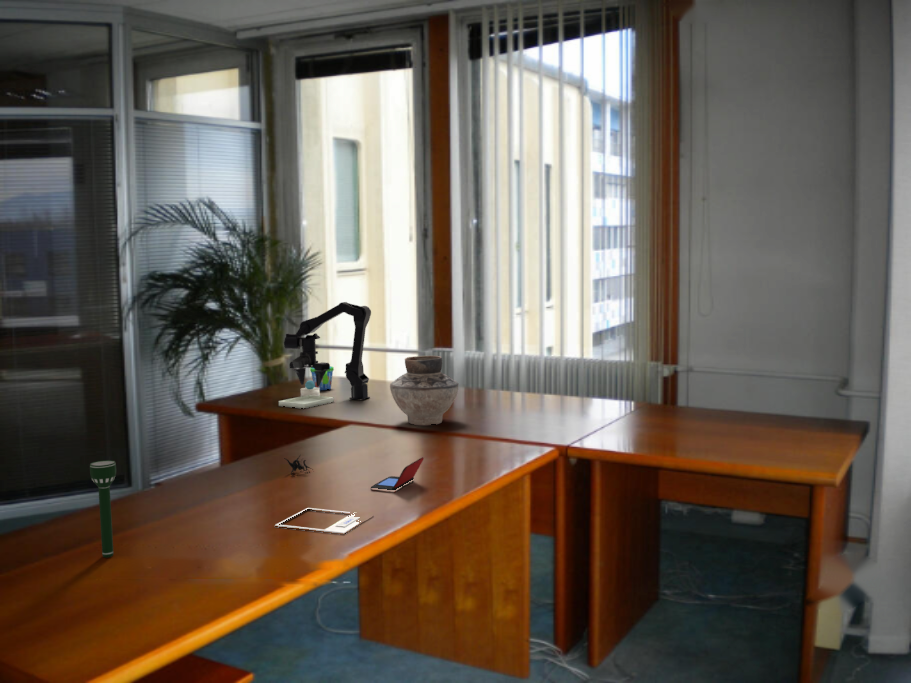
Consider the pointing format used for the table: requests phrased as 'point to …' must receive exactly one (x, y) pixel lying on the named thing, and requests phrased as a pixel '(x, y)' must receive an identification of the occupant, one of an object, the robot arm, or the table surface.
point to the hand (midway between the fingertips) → (310, 385)
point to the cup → (310, 391)
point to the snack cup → (323, 379)
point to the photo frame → (338, 527)
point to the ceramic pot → (424, 390)
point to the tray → (306, 401)
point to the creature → (295, 466)
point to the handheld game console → (400, 477)
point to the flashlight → (104, 500)
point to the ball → (309, 384)
